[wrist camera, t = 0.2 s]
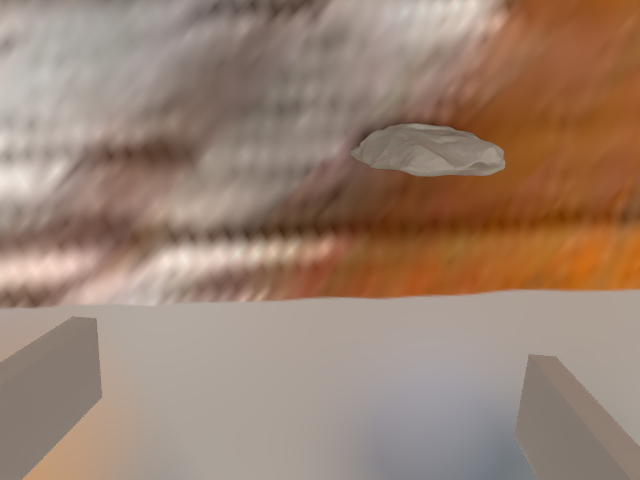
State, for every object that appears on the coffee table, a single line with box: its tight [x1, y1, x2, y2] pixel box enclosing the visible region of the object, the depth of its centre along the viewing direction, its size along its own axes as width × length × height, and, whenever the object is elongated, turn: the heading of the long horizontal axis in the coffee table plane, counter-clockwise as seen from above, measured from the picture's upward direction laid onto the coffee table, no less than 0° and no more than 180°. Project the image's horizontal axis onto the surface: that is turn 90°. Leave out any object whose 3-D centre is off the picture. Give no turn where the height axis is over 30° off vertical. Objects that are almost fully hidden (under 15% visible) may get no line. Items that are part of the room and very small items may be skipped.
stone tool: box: [350, 123, 505, 177], centre depth 30 cm, size 11×4×15 cm, turn 89°
